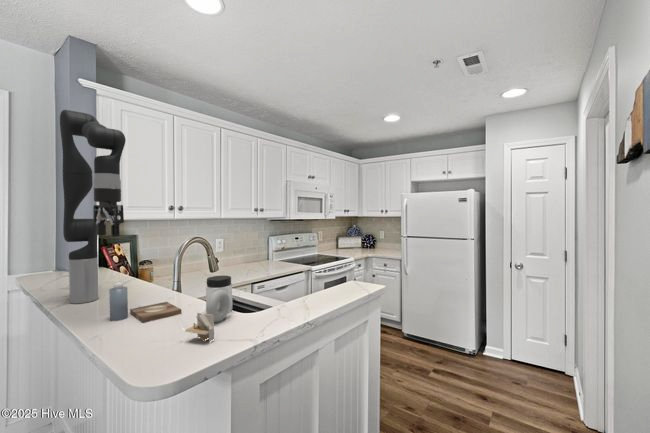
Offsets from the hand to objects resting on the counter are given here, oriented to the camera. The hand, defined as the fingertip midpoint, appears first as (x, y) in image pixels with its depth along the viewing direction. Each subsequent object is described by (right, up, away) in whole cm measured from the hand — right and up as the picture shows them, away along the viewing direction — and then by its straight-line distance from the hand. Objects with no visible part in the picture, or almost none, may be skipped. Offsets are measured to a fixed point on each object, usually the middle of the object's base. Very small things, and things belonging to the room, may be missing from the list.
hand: (108, 235), depth 104 cm
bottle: (+4, -28, -1) cm, 28 cm away
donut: (+39, -27, -5) cm, 48 cm away
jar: (+36, -27, +4) cm, 45 cm away
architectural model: (+40, -28, -20) cm, 53 cm away
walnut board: (+14, -27, +3) cm, 31 cm away
